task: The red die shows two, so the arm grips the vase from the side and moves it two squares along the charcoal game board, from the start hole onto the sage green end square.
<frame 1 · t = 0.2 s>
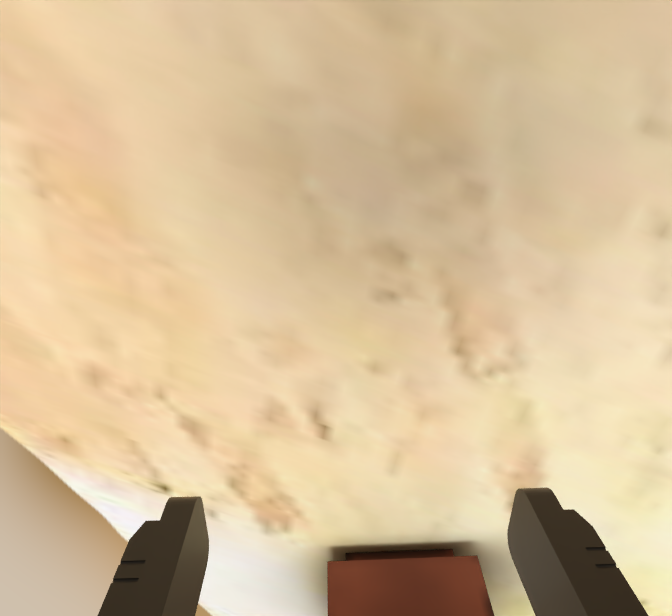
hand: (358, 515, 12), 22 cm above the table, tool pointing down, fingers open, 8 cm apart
potted plant: (396, 578, 55), on the table
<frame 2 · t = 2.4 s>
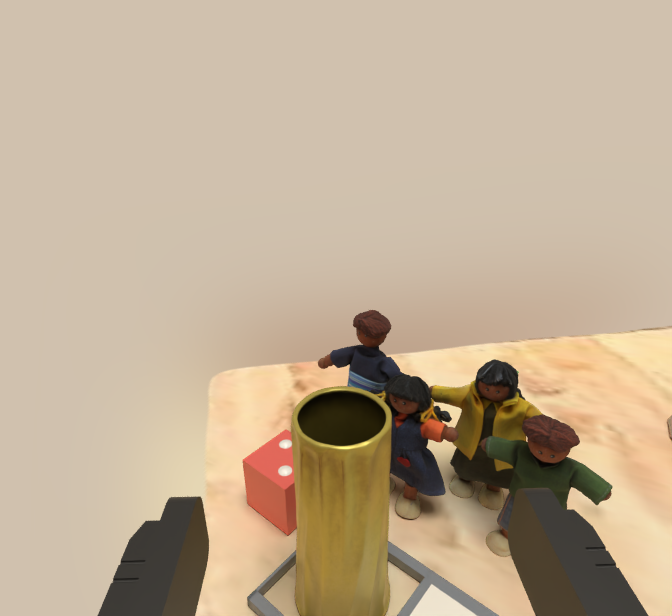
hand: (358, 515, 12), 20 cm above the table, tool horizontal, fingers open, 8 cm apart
vase: (342, 594, 31), resting in game board
doll family: (429, 486, 39), on the table
red die: (288, 501, 37), on the table
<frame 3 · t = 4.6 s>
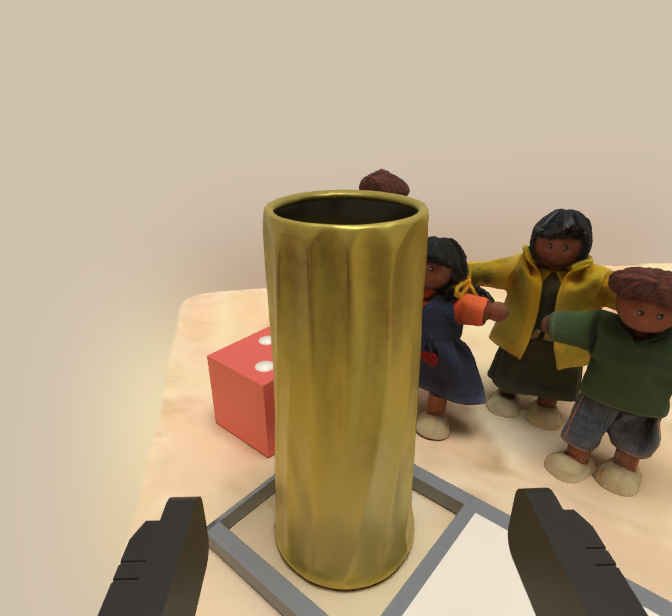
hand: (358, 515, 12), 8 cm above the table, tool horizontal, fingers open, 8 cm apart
vase: (344, 529, 21), resting in game board
doll family: (459, 405, 29), on the table
red die: (271, 419, 28), on the table
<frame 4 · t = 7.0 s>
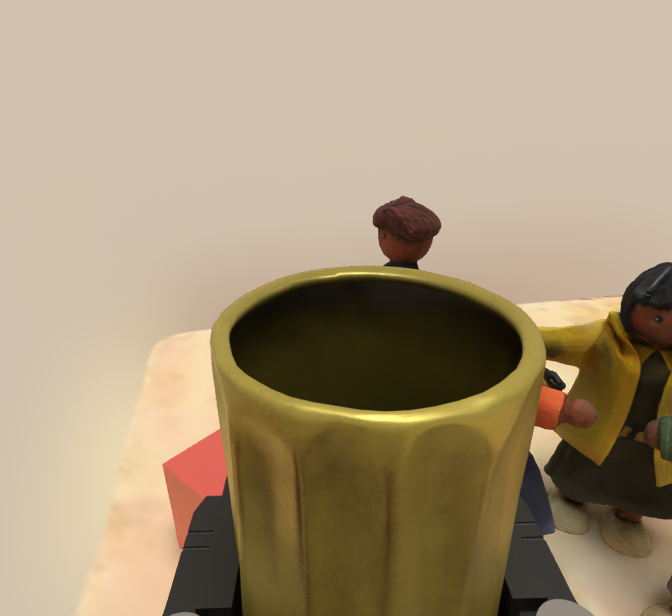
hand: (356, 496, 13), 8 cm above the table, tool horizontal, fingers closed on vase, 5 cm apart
doll family: (506, 510, 22), on the table
red die: (254, 539, 20), on the table
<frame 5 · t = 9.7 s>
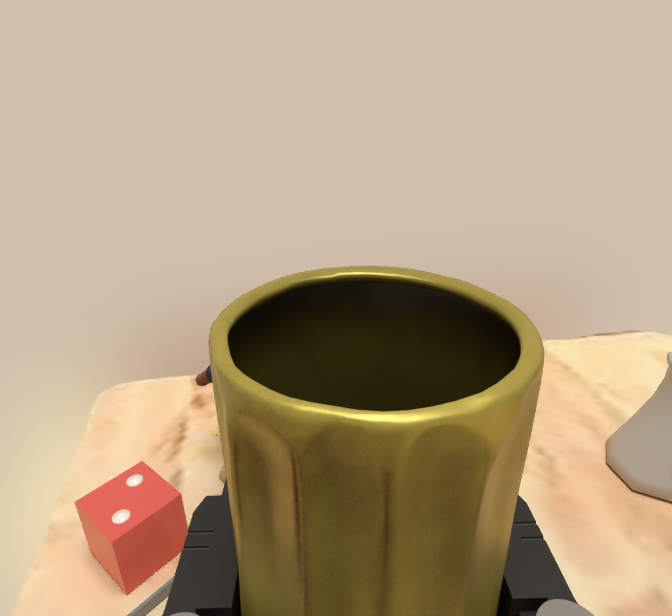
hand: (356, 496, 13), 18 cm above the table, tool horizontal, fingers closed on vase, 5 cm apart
doll family: (316, 526, 33), on the table
flask: (653, 471, 38), on the table
red die: (141, 547, 31), on the table
when the fingers open (10 cm above the table, at t = 12.5 s): vase drops 1 cm, resting on game board.
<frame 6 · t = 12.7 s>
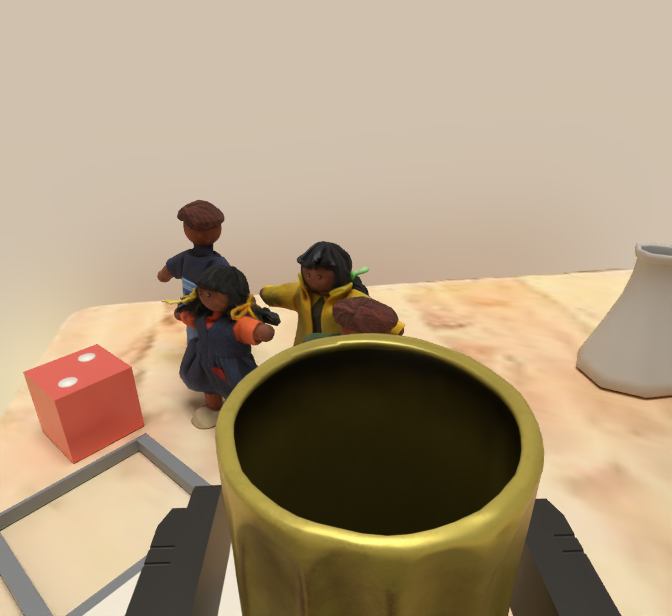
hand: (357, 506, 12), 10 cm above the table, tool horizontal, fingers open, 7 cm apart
doll family: (273, 414, 33), on the table
flask: (624, 375, 37), on the table
red die: (94, 428, 31), on the table
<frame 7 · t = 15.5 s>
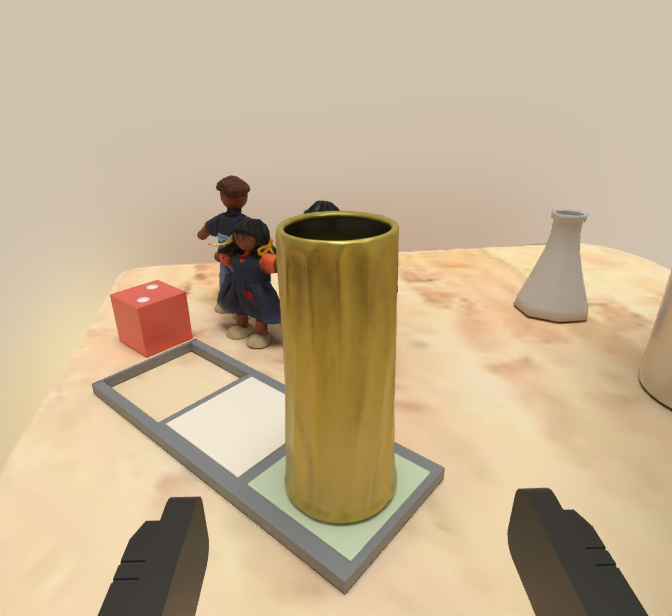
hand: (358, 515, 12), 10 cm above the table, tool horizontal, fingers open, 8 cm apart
vase: (340, 482, 26), point 1 cm above the table, touching game board
doll family: (285, 332, 44), on the table
flask: (549, 310, 49), on the table
game board: (246, 430, 31), on the table
red die: (156, 339, 43), on the table
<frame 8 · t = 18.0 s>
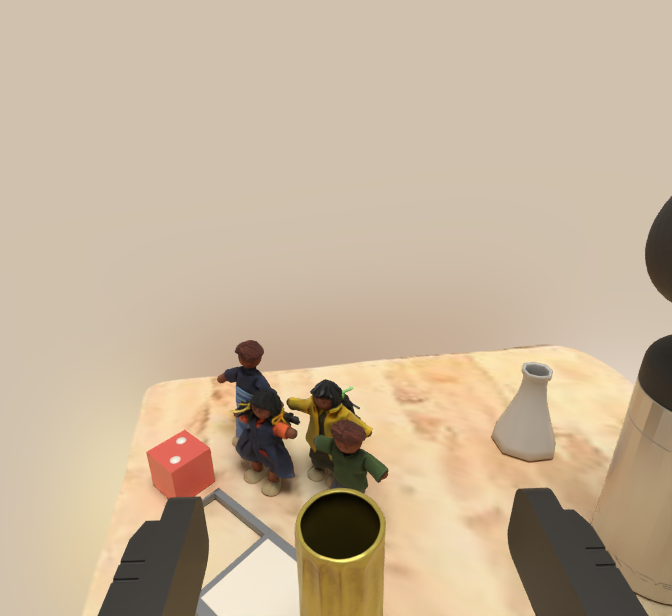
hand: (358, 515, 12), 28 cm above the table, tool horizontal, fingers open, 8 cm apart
doll family: (294, 472, 52), on the table
flask: (522, 442, 56), on the table
game board: (265, 599, 39), on the table
red die: (184, 483, 50), on the table
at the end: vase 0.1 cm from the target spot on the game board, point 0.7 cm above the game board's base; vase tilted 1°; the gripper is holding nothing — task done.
